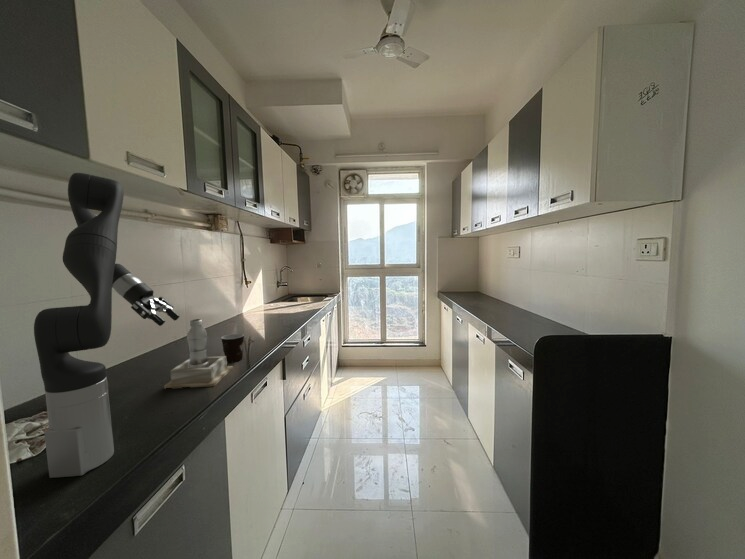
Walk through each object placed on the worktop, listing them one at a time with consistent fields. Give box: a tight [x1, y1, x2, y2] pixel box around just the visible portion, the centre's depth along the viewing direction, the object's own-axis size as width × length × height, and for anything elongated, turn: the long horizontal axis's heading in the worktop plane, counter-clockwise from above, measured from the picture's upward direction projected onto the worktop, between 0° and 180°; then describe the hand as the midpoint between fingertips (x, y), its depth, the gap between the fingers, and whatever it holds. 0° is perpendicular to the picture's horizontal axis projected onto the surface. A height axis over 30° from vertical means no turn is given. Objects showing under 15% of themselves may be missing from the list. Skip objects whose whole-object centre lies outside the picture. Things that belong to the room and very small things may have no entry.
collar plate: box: [163, 355, 234, 390], centre depth 108 cm, size 16×16×6 cm
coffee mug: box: [220, 333, 245, 363], centre depth 125 cm, size 12×9×10 cm
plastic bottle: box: [186, 318, 209, 368], centre depth 107 cm, size 6×7×20 cm
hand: (170, 321), depth 106 cm, fingers open, 8 cm apart
